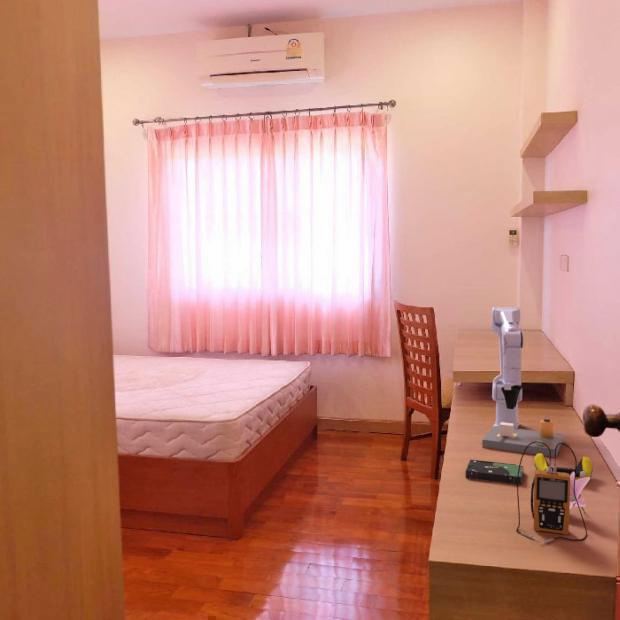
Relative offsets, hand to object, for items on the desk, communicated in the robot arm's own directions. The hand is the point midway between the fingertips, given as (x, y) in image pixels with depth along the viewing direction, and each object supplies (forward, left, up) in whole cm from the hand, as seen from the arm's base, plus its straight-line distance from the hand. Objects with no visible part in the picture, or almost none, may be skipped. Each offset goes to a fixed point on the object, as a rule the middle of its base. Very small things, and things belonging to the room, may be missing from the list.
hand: (511, 407), depth 204 cm
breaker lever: (+6, 0, -8) cm, 10 cm away
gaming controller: (+31, +20, -11) cm, 39 cm away
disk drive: (+38, +3, -11) cm, 39 cm away
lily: (+56, +24, -11) cm, 62 cm away
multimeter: (+71, +22, -11) cm, 75 cm away
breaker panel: (+5, +5, -10) cm, 13 cm away
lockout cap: (+1, +11, -8) cm, 14 cm away
